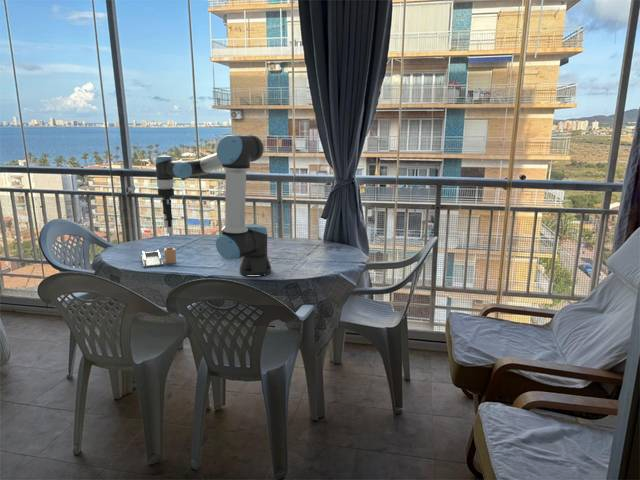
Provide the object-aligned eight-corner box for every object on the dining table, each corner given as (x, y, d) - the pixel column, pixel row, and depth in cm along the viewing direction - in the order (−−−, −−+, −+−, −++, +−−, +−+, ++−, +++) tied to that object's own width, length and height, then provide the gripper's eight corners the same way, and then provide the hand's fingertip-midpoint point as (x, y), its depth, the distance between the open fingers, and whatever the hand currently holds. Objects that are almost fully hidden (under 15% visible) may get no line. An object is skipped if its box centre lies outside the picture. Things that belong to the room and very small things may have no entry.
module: (176, 262, 224) (175, 248, 222) (165, 263, 222) (164, 249, 220) (175, 260, 227) (174, 246, 225) (165, 261, 225) (164, 247, 223)
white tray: (163, 265, 218) (162, 259, 217) (143, 267, 215) (143, 260, 214) (159, 254, 236) (159, 248, 235) (141, 256, 232) (141, 250, 231)
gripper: (176, 191, 205) (179, 235, 211) (171, 184, 227) (173, 224, 233) (159, 191, 202) (162, 236, 208) (155, 184, 224) (158, 225, 230)
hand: (168, 230), depth 220 cm, fingers open, 13 cm apart
